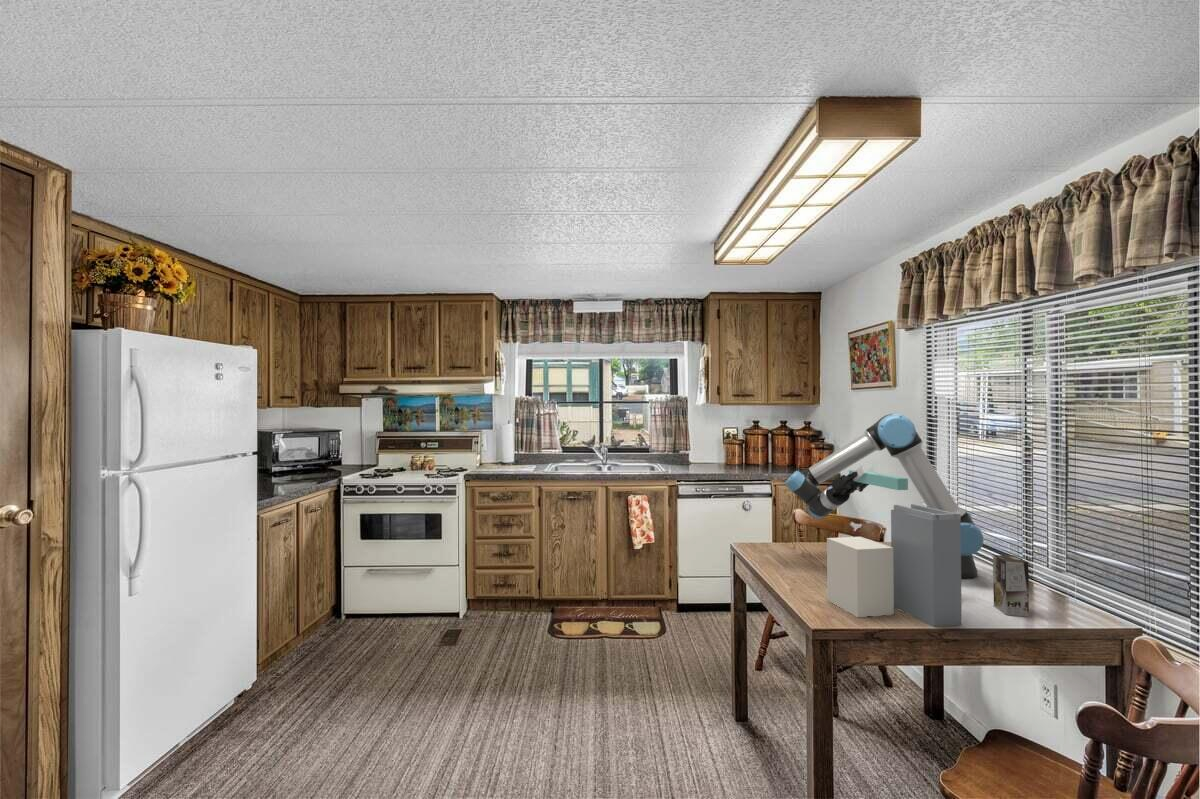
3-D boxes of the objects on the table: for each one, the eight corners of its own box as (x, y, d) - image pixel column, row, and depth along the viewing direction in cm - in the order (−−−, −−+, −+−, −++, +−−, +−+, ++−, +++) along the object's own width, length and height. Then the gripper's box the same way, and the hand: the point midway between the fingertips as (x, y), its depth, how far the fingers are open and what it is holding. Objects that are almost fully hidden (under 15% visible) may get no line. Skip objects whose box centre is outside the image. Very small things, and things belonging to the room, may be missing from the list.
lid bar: (858, 480, 212) (858, 470, 212) (907, 489, 187) (907, 478, 187) (848, 480, 211) (848, 470, 211) (897, 490, 186) (897, 478, 186)
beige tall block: (861, 598, 198) (860, 536, 198) (893, 614, 182) (893, 547, 182) (827, 600, 195) (826, 538, 196) (857, 617, 180) (857, 549, 180)
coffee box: (1030, 617, 180) (1029, 562, 180) (1005, 615, 181) (1005, 561, 182) (1015, 607, 189) (1015, 554, 189) (992, 605, 190) (992, 553, 190)
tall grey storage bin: (917, 604, 191) (916, 504, 192) (961, 624, 174) (960, 513, 174) (891, 606, 190) (890, 504, 190) (933, 626, 172) (932, 514, 172)
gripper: (858, 504, 222) (895, 479, 202) (817, 506, 219) (850, 480, 199) (852, 485, 226) (888, 458, 206) (811, 486, 223) (843, 459, 203)
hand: (869, 469), depth 203 cm, fingers closed on lid bar, 3 cm apart
